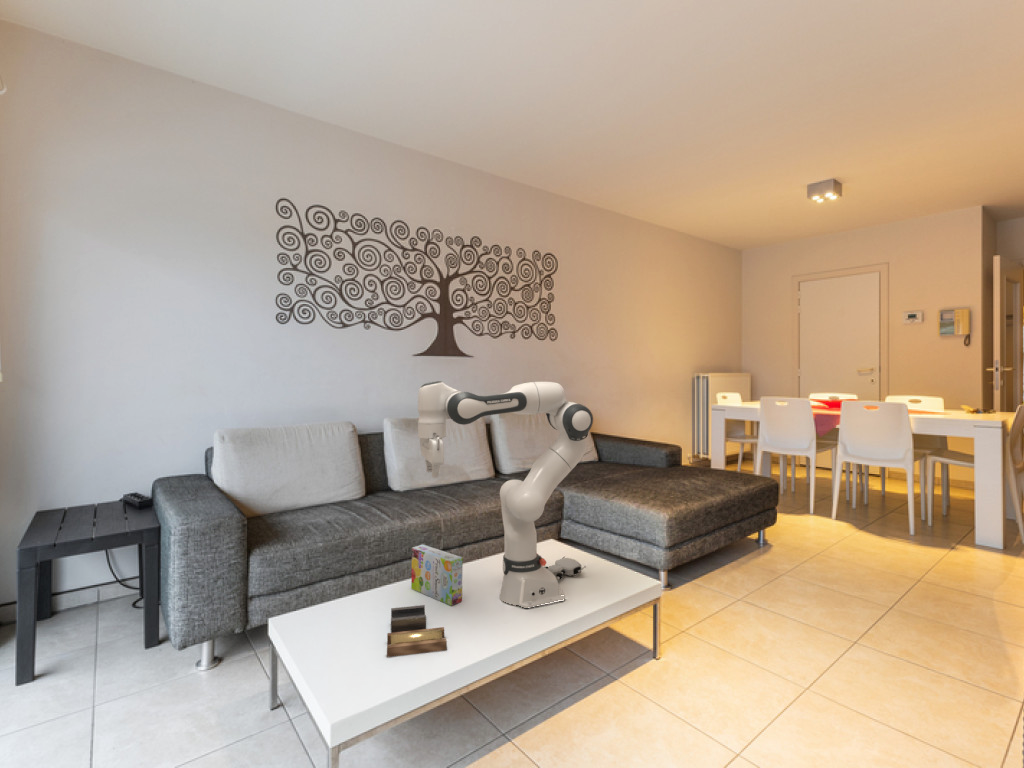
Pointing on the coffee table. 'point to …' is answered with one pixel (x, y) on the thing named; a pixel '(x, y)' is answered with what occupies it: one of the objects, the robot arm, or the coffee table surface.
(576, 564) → the robot toy
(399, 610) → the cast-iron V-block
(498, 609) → the coffee table surface
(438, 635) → the brass rod
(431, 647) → the copper channel
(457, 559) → the snack box
